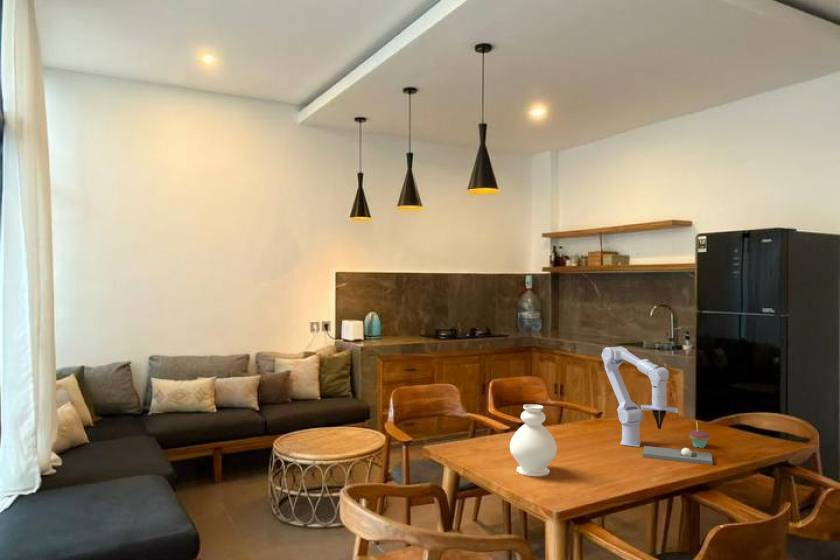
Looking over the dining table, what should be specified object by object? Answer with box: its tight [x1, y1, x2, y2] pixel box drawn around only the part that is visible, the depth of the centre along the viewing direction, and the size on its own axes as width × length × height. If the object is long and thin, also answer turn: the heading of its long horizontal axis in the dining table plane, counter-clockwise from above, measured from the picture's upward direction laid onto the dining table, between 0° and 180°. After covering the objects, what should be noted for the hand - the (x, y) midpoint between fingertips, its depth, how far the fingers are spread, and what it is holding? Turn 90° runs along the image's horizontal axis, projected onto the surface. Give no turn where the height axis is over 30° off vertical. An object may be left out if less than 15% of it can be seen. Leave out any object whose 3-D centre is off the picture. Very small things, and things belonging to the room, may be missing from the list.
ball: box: [681, 447, 692, 457], centre depth 243 cm, size 4×4×4 cm
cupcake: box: [688, 419, 710, 449], centre depth 259 cm, size 9×8×12 cm
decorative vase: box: [509, 403, 558, 477], centre depth 226 cm, size 18×18×25 cm
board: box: [642, 445, 714, 466], centre depth 244 cm, size 12×26×2 cm, turn 67°
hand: (659, 428), depth 250 cm, fingers closed
